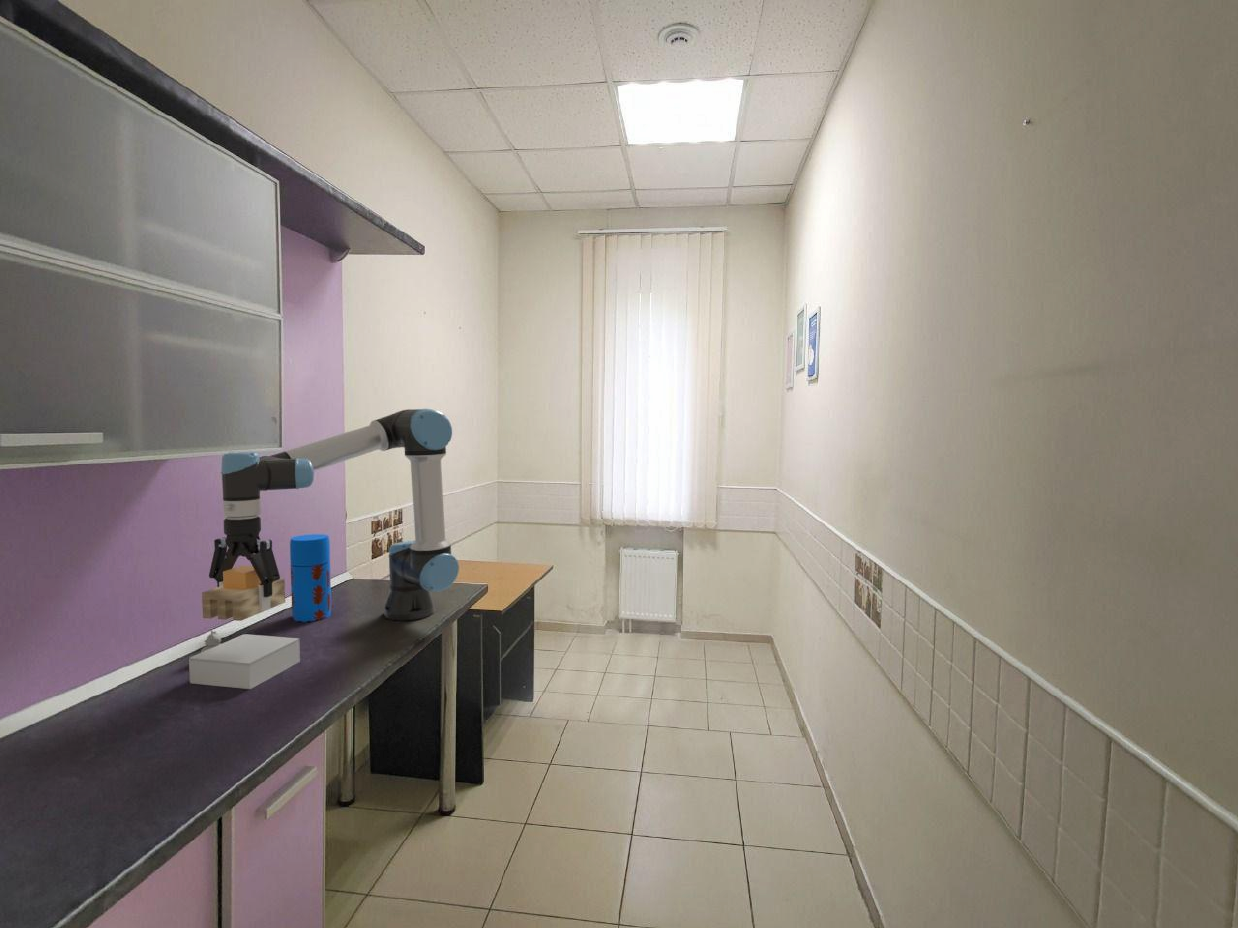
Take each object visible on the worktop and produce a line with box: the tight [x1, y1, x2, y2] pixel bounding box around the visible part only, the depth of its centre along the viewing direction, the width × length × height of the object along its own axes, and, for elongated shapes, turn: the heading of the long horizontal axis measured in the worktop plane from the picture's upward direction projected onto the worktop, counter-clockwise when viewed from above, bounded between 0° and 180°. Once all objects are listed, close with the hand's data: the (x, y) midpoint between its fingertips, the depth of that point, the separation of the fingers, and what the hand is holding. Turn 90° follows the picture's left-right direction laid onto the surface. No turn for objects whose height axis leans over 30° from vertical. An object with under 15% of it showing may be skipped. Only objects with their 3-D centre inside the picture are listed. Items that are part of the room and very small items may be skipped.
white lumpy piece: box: [200, 629, 222, 653], centre depth 152 cm, size 5×7×8 cm
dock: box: [188, 633, 301, 690], centre depth 144 cm, size 16×16×6 cm
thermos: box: [289, 533, 332, 623], centre depth 185 cm, size 11×11×25 cm
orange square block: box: [223, 565, 261, 590], centre depth 143 cm, size 6×6×4 cm
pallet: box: [201, 578, 286, 622], centre depth 143 cm, size 14×10×6 cm
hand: (245, 608), depth 143 cm, fingers closed on pallet, 10 cm apart
